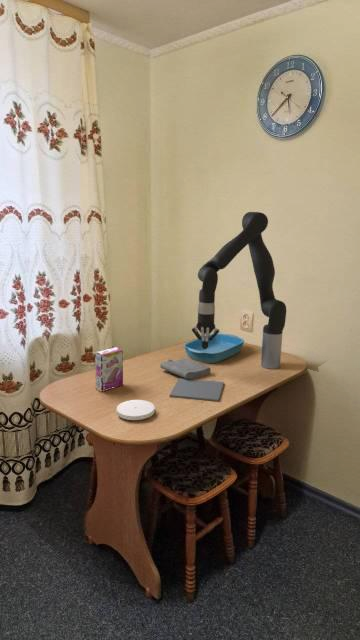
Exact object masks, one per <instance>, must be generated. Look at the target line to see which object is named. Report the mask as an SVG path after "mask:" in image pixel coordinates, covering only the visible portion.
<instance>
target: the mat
mask: <svg viewBox="0 0 360 640" xmlns="http://www.w3.org/2000/svg"><path fill="white" fill-rule="evenodd" d="M224 383H225V382H224V381H216V380H205V379H186V378H184V377H179V378H178V379H177V381H176V382H175V385H174V386H173V388H172V390H171V391H170V393H169V398H176V399H177V398H179V399H185V400H186V399H187V400H198V401H209V402H218V403H219V401H220V398H221V396H222V395H221V394H222V392H223V387H224Z"/></svg>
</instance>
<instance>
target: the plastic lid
mask: <svg viewBox="0 0 360 640" xmlns="http://www.w3.org/2000/svg"><path fill="white" fill-rule="evenodd" d="M155 410H156V409H155V405H154V404H153V403H152V402H150V401H149V400H148V401H147V400H144V399H131V400H126V401H123V402H121V403H120V404H118V405H117V406H116V415H117V416H118V417H120V419H123V420H130V421H140V420H145V419H148V418H150V417H152V416H153V415H154V414H155Z"/></svg>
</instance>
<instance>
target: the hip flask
mask: <svg viewBox="0 0 360 640" xmlns="http://www.w3.org/2000/svg"><path fill="white" fill-rule="evenodd" d="M159 368H160V369H162V370H165V371H168V372H170V373H172V374H175V375H177V376H179V377H180V378H184V379H195V380H197V379H199V378H200V379H201V378H202V377H205V376H207V375H209V374H210V373H211V371H212V370H211V368H210V366H206V365H204V364H201V363H197V362H195V361H193V360H190V359H188V358H185V357H182V358H180V359H177V360H172V359H168V360H167V361H162V362H161V363H160V366H159Z"/></svg>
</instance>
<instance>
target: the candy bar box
mask: <svg viewBox="0 0 360 640" xmlns="http://www.w3.org/2000/svg"><path fill="white" fill-rule="evenodd" d="M94 355H95V356H94V357H95V358H94V359H95V362H94V363H95V364H94V365H95V366H94V367H95V368H94V369H95V389H96V388H98V389H100V390H102V391H103V390H106V389H109V388H112V387H115V388H117V387H116V386H118V387H121V386H120V385H122V386H124V349H122V348H119V347H115V346H114V347H111V348H107V349H105V350H104V349H103V350H99V351H95V352H94ZM98 389H97V390H98ZM112 389H113V388H112ZM109 390H110V389H109ZM106 391H107V390H106ZM103 392H104V391H103Z"/></svg>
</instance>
